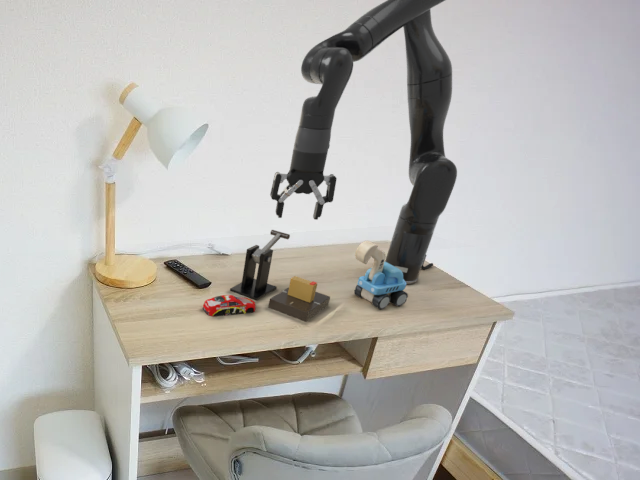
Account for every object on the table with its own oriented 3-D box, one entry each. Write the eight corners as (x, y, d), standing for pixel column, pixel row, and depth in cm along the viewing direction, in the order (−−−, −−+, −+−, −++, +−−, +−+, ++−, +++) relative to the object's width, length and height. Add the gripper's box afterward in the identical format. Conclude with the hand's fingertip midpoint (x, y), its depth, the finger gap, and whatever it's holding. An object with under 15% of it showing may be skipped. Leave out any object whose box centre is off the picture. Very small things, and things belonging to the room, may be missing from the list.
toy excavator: (331, 300, 132) (348, 236, 123) (382, 291, 137) (401, 229, 128) (355, 315, 125) (374, 249, 116) (407, 305, 130) (429, 241, 121)
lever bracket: (250, 281, 140) (256, 240, 134) (276, 290, 136) (284, 248, 130) (229, 292, 134) (235, 250, 128) (255, 302, 130) (263, 259, 123)
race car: (249, 304, 129) (252, 290, 127) (258, 314, 124) (261, 300, 122) (200, 308, 126) (201, 294, 124) (207, 319, 122) (209, 304, 120)
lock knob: (287, 294, 127) (291, 277, 124) (291, 292, 128) (295, 275, 126) (309, 302, 123) (313, 285, 121) (313, 300, 125) (317, 282, 122)
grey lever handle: (273, 234, 136) (272, 227, 135) (290, 239, 133) (290, 231, 132) (247, 260, 131) (247, 252, 130) (264, 265, 129) (264, 258, 127)
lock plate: (291, 294, 134) (293, 283, 132) (328, 307, 128) (331, 296, 127) (267, 309, 127) (269, 297, 125) (305, 324, 121) (308, 312, 119)
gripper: (339, 146, 118) (323, 214, 127) (276, 143, 120) (265, 211, 128) (347, 152, 112) (330, 224, 121) (281, 150, 113) (269, 221, 122)
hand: (297, 217), depth 124 cm, fingers open, 8 cm apart
